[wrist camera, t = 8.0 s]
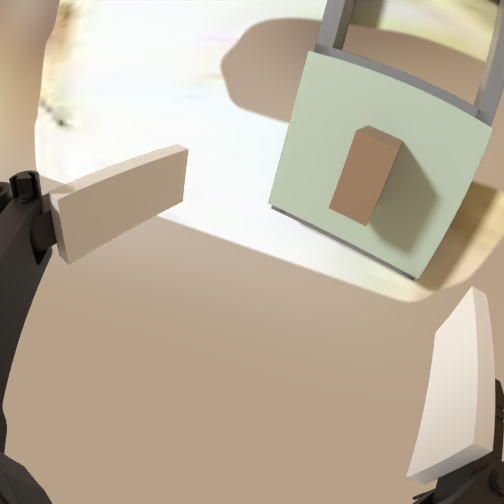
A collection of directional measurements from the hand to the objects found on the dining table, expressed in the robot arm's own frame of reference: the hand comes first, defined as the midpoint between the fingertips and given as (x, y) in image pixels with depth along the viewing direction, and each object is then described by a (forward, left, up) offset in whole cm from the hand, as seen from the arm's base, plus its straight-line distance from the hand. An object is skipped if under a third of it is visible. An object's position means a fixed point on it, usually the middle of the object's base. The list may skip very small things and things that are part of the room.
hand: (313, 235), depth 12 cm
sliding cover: (0, 0, -16) cm, 16 cm away
